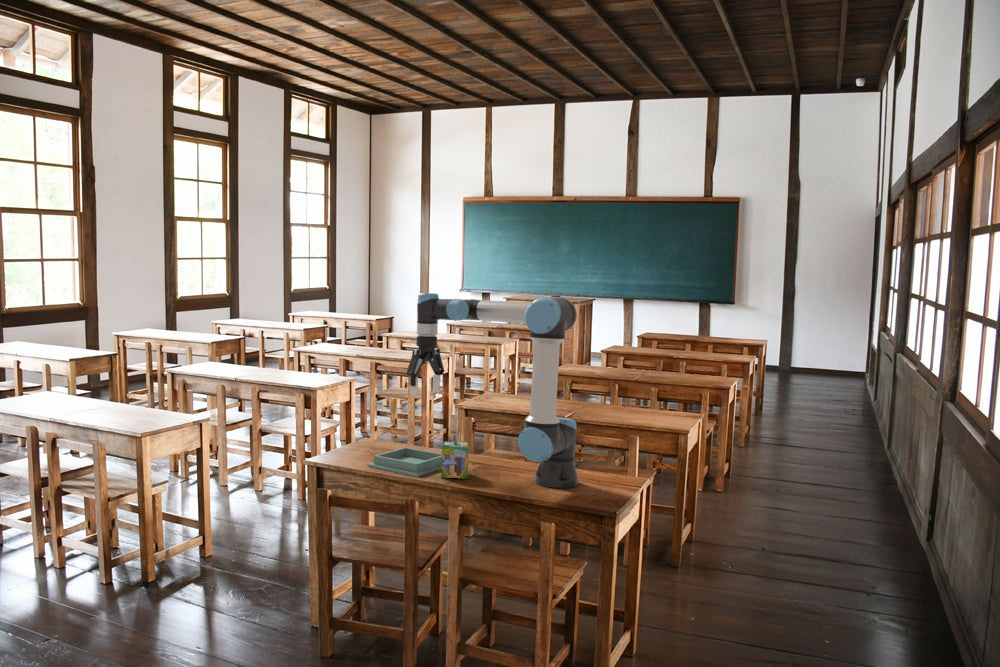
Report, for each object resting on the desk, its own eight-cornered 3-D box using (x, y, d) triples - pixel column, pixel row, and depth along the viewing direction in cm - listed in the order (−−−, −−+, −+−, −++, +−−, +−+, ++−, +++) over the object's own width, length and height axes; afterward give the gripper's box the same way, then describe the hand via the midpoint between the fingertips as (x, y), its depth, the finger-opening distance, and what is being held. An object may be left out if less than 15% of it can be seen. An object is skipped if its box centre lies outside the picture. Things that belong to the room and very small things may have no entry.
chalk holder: (451, 465, 279) (452, 454, 279) (417, 477, 260) (417, 465, 260) (403, 456, 290) (404, 445, 289) (367, 466, 270) (367, 455, 270)
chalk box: (466, 480, 260) (469, 438, 259) (440, 478, 260) (442, 436, 259) (468, 473, 269) (470, 432, 268) (443, 472, 269) (445, 431, 268)
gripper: (438, 334, 285) (436, 390, 286) (397, 335, 264) (395, 395, 264) (454, 335, 282) (452, 392, 282) (414, 336, 260) (413, 397, 260)
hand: (425, 393), depth 273 cm, fingers open, 13 cm apart
